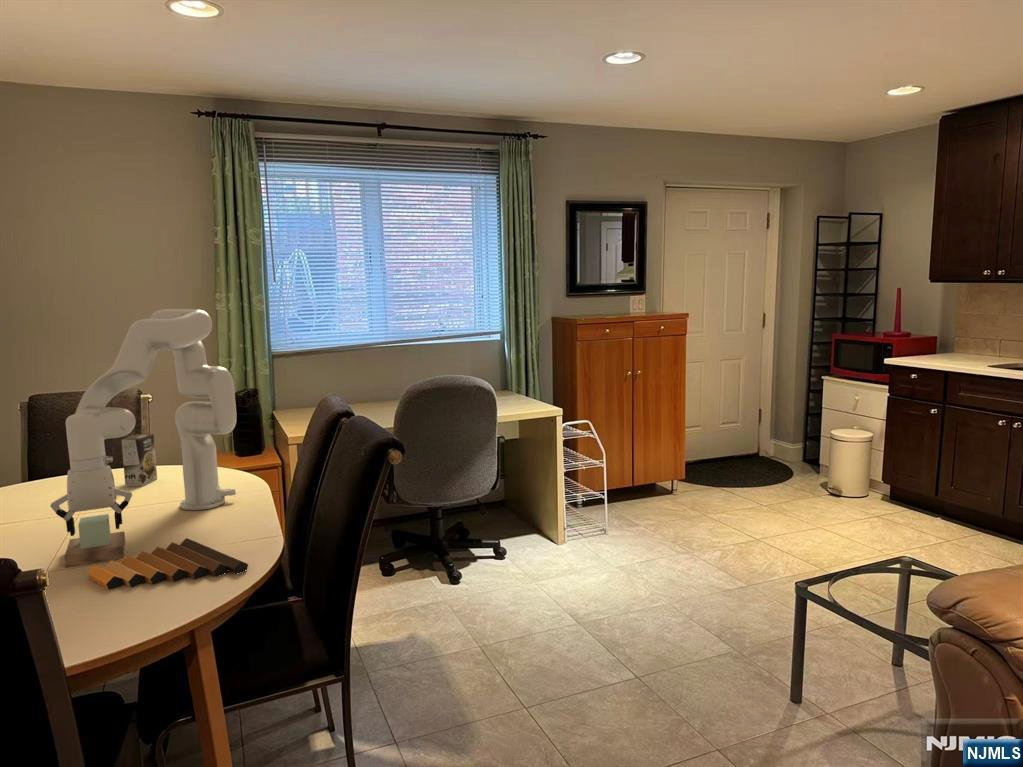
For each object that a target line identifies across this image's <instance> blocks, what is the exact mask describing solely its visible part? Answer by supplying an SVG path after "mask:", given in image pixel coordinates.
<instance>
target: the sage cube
mask: <svg viewBox="0 0 1023 767" xmlns="http://www.w3.org/2000/svg"><path fill="white" fill-rule="evenodd" d="M110 526H111V525H110V515H109V513H107V514H101V515H100V514H99V515H94V516H93V515H91V516H85V517H80V519H79V521H78V533H79V534H78V536H79V538H80V546H81V549H84V548H90V547H97V546H103V545H109V543H110V538H111V535H110V533H111V527H110Z"/></svg>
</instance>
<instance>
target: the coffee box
mask: <svg viewBox="0 0 1023 767" xmlns="http://www.w3.org/2000/svg"><path fill="white" fill-rule="evenodd" d="M154 435H155V434H154V433H144V434H143V433H142V434H139V433H138V434H133V435H131V436H128V437H124V438H123V439H121V451H122V464H123V474H124V487H141V488H142V487H145V486H146V485H148V484H151V483H152V482H155V481H156V480H158V473H157V472H158V471H157V462H156V461H157V460H156V459H157V458H156V449H155V448H156V446H155V436H154Z"/></svg>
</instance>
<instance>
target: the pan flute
mask: <svg viewBox="0 0 1023 767" xmlns="http://www.w3.org/2000/svg"><path fill="white" fill-rule="evenodd" d="M248 568H249V564H248V563H246V562H244V561H242V560H240V559H237V558H234V557H233V556H230V555H228V554H225V553H223V552H221V551H219V550H216V549H213V548H211V547H209V546H206V545H204V544H202V543H199V542H197V541H195V540H193V539H190V538H187V537H186V538H185V539H184V540H182V542H181V543H179V544H178V543H176V542H173V541H172V542H171V543H170V544H169V545H168V546H167V547H166V548H163V547H160V546H157V547H155V548H154V549H153V551H152V552H146V551H144V550H142V551H141V552H140V553H139V554H138V555H137V556H136V557H133V556H130V555H126V556H124V558H122V560H121V561H120V562H117V561H115V560H109V561H108V563H107V564H105V566H104V567H102V566H98V565H96V564H94V565H93V566H92V567H91V568H90V569H89V570H88V572H86V574H87V576H88V578H89V580H91V581H92V582H94V581H95V582H94V583H96V582H97V583H96V584H98V585H100V586H101V587H103V588H105V589H106V588H107V590H108V591H111V590H114V589H117V588H120V587H122V585H123V584H125V585H126V586H128V587H129V586H130V587H129V588H133V587H138V586H140V585H143V584H144V581H146V582H147V583H149V584H151V585H152V586H153V585H156V584H160V583H163V582H165V581H166V579H167V578H168V579H167V580H169V581H171V582H174V583H176V581H177V582H180V581H183V580H185V579H186V577H189V578H191V579H193V580H199V579H202V578H203V577H206V576H207V575H210V574H211V575H210V576H213V577H215V576H218V577H220V576H219V575H221V576H223V575H222V574H224V573H226V574H227V573H228V572H229V571H231V572H230V573H232V572H233V573H232V574H234V573H235V574H234V575H236V574H237V573H240V572H243V571H245V570H247V571H248ZM227 570H229V571H227ZM245 572H246V571H245ZM208 573H209V574H208ZM243 573H244V572H243ZM240 574H241V573H240ZM224 575H225V574H224ZM237 575H238V574H237ZM201 577H202V578H201ZM184 578H185V579H184ZM198 578H199V579H198ZM113 588H114V589H113ZM110 589H111V590H110Z"/></svg>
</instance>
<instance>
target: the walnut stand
mask: <svg viewBox="0 0 1023 767" xmlns="http://www.w3.org/2000/svg"><path fill="white" fill-rule="evenodd" d="M110 535H111V538H110V543H109V545H103V546H97V547H90V548H84V549H81V546H80V537H78V538H71V539H69V541H68V544H67V547H66V551H65V553H64V560H65V562H64V563H65V568H71V567H78V566H84V565H88V564H96V563H101V562H102V563H103V562H107V561H108V562H110V561H111V560H112V561H115V560H121V559H124V558H125V549H126V535H125V531H117V532H110ZM120 558H121V559H120Z"/></svg>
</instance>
